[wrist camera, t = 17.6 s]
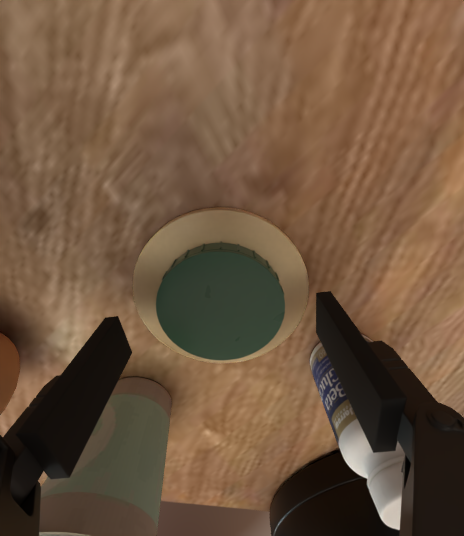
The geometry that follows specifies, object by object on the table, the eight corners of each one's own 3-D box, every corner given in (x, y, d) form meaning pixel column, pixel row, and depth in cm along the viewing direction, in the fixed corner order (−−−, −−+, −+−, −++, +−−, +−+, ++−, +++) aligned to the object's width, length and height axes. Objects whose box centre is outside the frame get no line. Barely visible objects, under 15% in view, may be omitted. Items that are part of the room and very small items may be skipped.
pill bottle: (309, 331, 19) (376, 482, 10) (380, 327, 19) (509, 477, 10) (306, 382, 22) (359, 541, 13) (369, 378, 21) (467, 537, 13)
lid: (283, 339, 19) (287, 355, 17) (175, 349, 19) (170, 366, 18) (279, 234, 15) (283, 242, 14) (147, 249, 16) (139, 259, 14)
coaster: (112, 221, 16) (106, 224, 15) (304, 194, 15) (308, 196, 14) (160, 363, 21) (158, 371, 20) (307, 347, 20) (309, 355, 19)
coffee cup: (139, 348, 20) (28, 582, 9) (206, 407, 23) (183, 638, 12) (69, 393, 22) (-89, 627, 11) (138, 441, 25) (66, 666, 14)
